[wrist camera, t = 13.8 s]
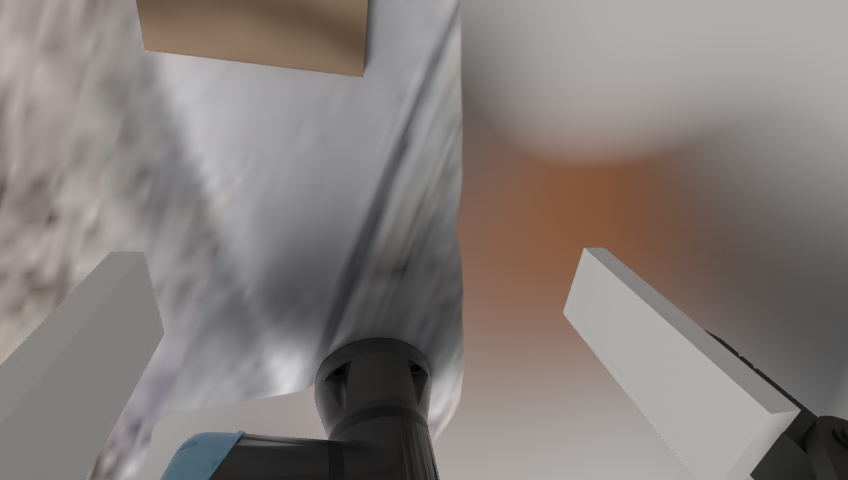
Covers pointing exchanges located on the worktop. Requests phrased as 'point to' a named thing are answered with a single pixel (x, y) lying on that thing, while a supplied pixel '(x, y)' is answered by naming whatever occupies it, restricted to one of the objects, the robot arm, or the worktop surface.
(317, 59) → the board
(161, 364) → the worktop surface
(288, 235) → the worktop surface
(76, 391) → the robot arm
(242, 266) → the worktop surface
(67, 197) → the worktop surface
